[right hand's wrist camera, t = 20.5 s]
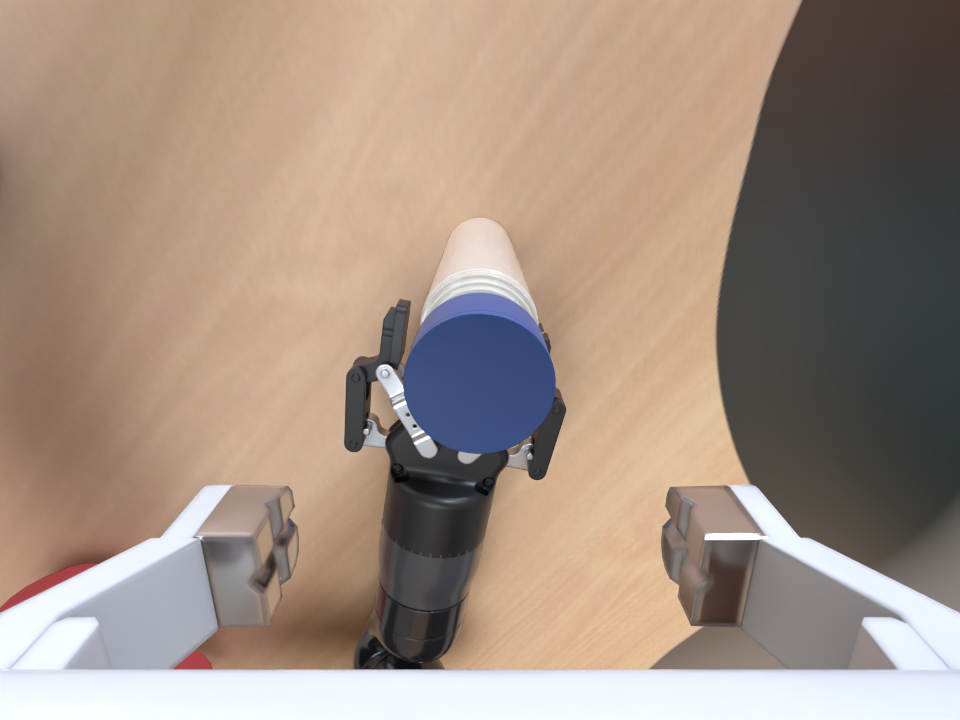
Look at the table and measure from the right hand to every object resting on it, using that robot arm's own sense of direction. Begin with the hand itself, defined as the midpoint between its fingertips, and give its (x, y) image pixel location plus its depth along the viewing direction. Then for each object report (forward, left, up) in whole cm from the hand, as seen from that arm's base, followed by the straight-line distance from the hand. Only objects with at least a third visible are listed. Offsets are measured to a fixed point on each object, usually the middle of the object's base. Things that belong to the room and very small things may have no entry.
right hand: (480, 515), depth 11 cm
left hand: (+3, +1, -25) cm, 25 cm away
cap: (0, 0, -9) cm, 9 cm away
